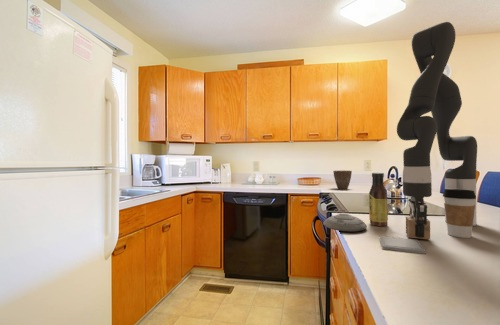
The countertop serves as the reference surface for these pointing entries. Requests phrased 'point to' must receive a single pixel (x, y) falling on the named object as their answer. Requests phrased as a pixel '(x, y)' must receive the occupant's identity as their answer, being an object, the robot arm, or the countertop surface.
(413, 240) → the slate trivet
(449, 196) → the coffee cup
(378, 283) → the countertop surface
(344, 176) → the plant pot
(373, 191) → the sauce bottle
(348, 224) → the flying saucer
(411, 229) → the walnut cube
